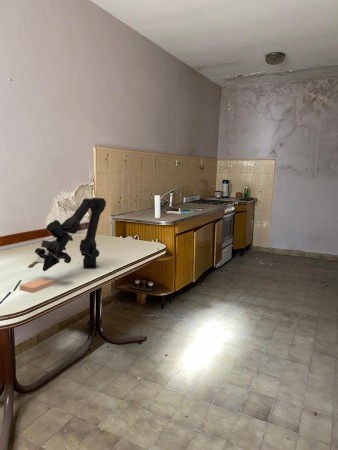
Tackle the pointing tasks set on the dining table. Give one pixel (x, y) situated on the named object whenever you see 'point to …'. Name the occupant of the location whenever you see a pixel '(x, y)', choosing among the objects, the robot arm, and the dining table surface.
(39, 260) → the kitchen cleaver
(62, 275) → the dining table surface
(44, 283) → the glazed tile
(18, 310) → the dining table surface
